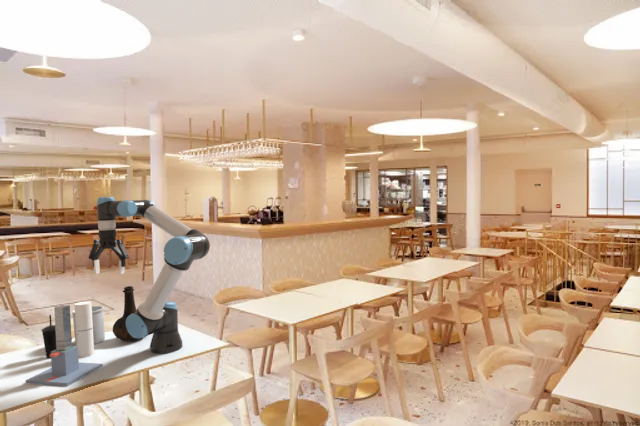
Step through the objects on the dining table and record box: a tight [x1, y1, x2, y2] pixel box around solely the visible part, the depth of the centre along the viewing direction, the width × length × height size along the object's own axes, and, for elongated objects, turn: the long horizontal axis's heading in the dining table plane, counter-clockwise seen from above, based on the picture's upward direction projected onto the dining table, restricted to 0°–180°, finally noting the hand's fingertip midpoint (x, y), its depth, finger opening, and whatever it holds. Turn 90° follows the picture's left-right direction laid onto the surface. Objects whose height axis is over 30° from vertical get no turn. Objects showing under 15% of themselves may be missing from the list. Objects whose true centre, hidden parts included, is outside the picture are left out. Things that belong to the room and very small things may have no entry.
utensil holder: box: [71, 305, 106, 346], centre depth 225 cm, size 15×15×18 cm
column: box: [53, 304, 73, 351], centre depth 183 cm, size 4×4×22 cm
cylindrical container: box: [73, 300, 95, 358], centre depth 206 cm, size 7×7×25 cm
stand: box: [25, 345, 104, 387], centre depth 183 cm, size 20×20×11 cm
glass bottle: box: [112, 285, 142, 342], centre depth 228 cm, size 18×18×28 cm
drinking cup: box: [40, 314, 57, 359], centre depth 205 cm, size 8×8×20 cm
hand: (109, 273), depth 205 cm, fingers open, 13 cm apart
